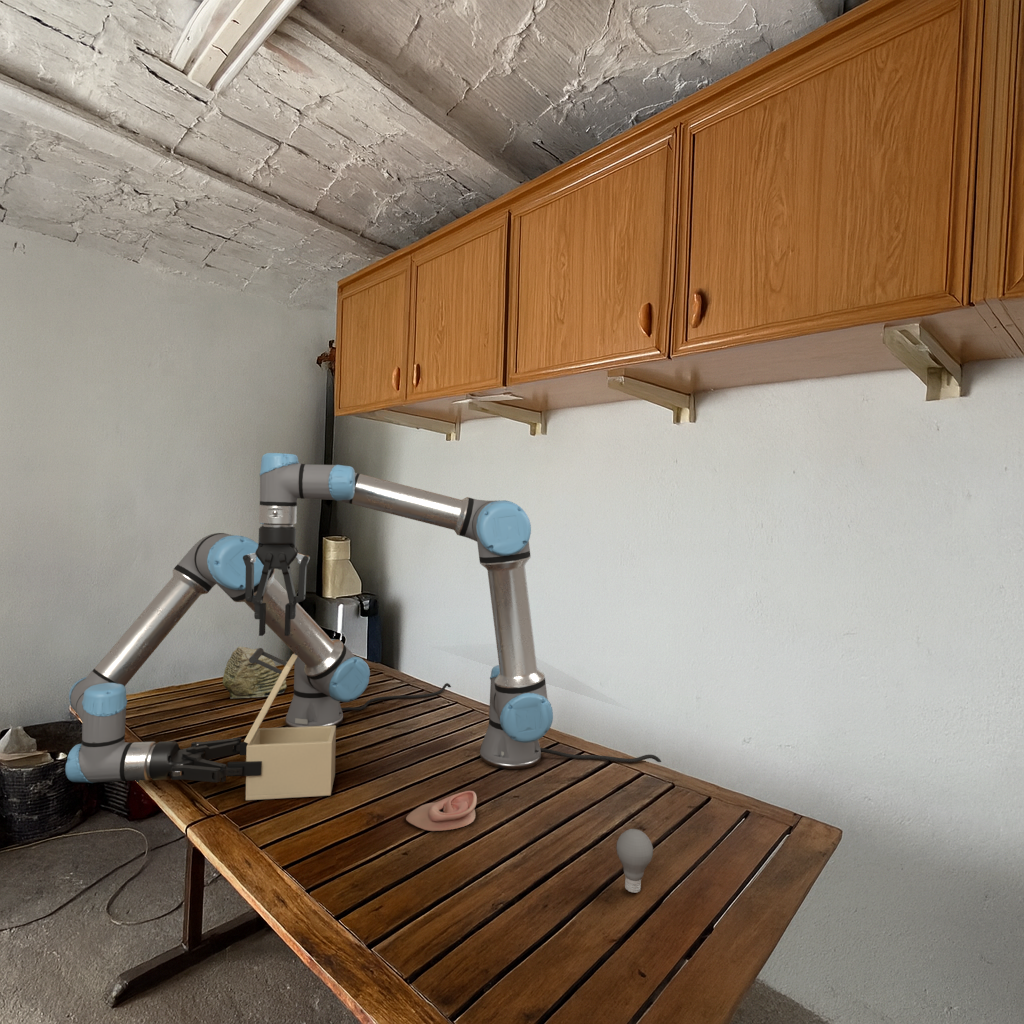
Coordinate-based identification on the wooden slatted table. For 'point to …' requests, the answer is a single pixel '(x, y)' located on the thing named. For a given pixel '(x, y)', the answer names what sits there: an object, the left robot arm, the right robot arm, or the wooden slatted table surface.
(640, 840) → the light bulb
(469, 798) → the anatomical model
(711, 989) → the wooden slatted table surface
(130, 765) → the left robot arm
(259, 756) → the chest
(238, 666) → the fossil
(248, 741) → the lid
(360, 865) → the wooden slatted table surface
